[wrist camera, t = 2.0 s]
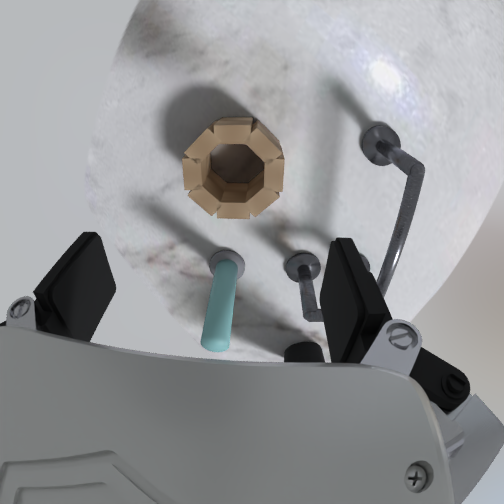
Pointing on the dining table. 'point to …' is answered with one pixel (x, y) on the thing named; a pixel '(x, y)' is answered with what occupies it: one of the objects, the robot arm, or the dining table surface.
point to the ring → (234, 194)
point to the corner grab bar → (384, 153)
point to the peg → (221, 300)
